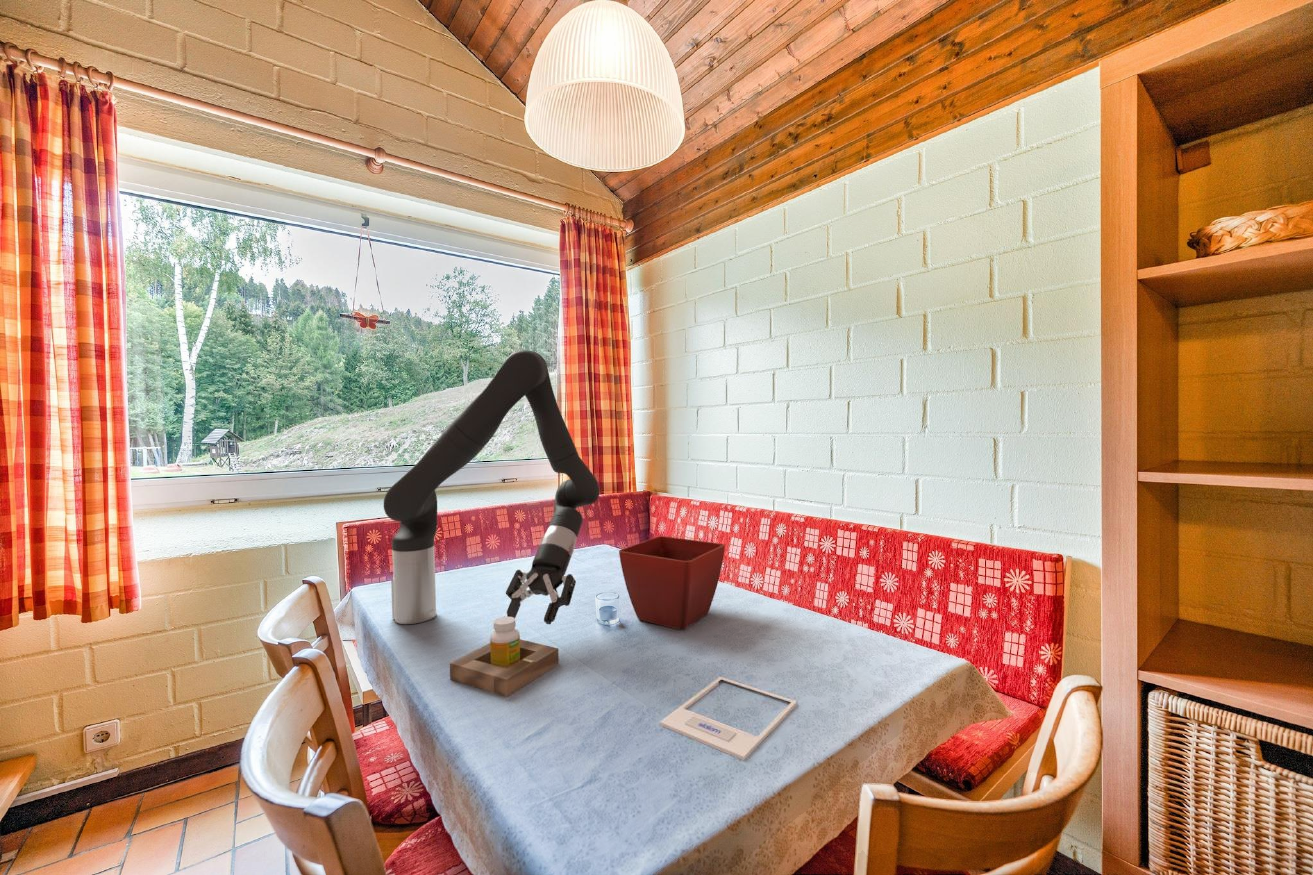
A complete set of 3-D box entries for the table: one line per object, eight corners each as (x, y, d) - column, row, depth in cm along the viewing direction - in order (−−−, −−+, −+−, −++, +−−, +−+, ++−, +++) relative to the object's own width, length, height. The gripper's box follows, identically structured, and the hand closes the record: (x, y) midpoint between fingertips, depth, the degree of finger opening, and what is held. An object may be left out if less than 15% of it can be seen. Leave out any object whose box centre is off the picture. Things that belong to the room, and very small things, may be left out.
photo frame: (659, 720, 84) (720, 675, 98) (659, 727, 84) (720, 681, 98) (743, 755, 75) (796, 700, 89) (743, 763, 75) (796, 706, 89)
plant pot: (727, 611, 132) (727, 543, 131) (689, 639, 116) (688, 561, 115) (661, 598, 142) (660, 535, 141) (617, 622, 126) (616, 550, 125)
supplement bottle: (512, 678, 99) (511, 626, 99) (485, 676, 100) (484, 624, 100) (525, 665, 105) (524, 615, 104) (499, 663, 106) (498, 614, 105)
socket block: (450, 679, 100) (449, 661, 99) (505, 649, 112) (504, 634, 112) (506, 696, 93) (506, 678, 93) (558, 663, 105) (558, 647, 105)
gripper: (520, 540, 120) (490, 608, 110) (578, 543, 115) (552, 615, 105) (534, 557, 125) (506, 624, 115) (589, 562, 121) (566, 632, 110)
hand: (528, 620), depth 110 cm, fingers open, 8 cm apart
